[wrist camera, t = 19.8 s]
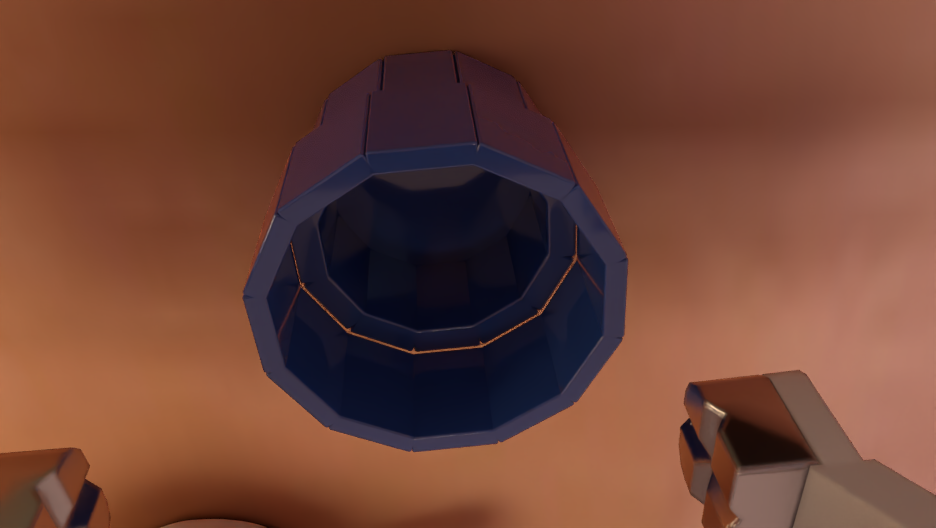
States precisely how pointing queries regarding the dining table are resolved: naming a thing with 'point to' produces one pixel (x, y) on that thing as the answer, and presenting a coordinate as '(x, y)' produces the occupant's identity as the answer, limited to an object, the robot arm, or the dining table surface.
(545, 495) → the dining table surface
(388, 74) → the blue cup
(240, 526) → the mug
